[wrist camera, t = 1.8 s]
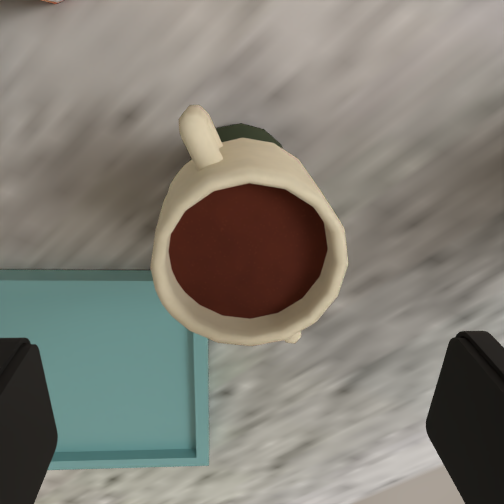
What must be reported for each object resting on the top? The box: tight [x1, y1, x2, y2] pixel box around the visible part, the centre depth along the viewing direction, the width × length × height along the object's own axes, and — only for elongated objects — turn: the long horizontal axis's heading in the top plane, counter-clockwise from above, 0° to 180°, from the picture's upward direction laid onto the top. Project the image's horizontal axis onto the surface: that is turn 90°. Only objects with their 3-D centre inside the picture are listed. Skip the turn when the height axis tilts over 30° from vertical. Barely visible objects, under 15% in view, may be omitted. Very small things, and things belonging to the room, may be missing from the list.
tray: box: [0, 270, 209, 470], centre depth 32 cm, size 18×18×2 cm
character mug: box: [150, 105, 348, 346], centre depth 21 cm, size 11×7×13 cm, turn 23°
